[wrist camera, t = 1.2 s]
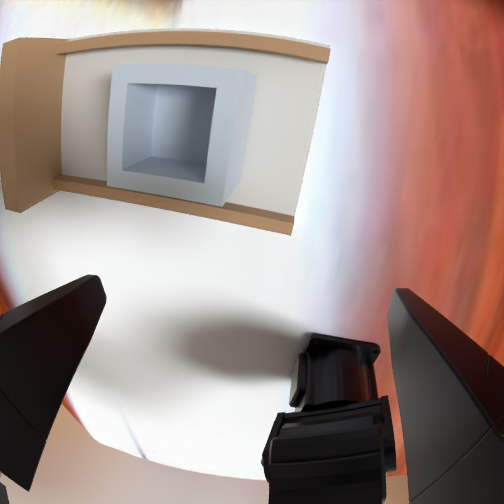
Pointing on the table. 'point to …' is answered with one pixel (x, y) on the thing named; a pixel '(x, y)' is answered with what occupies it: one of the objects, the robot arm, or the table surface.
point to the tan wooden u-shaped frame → (97, 111)
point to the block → (178, 129)
